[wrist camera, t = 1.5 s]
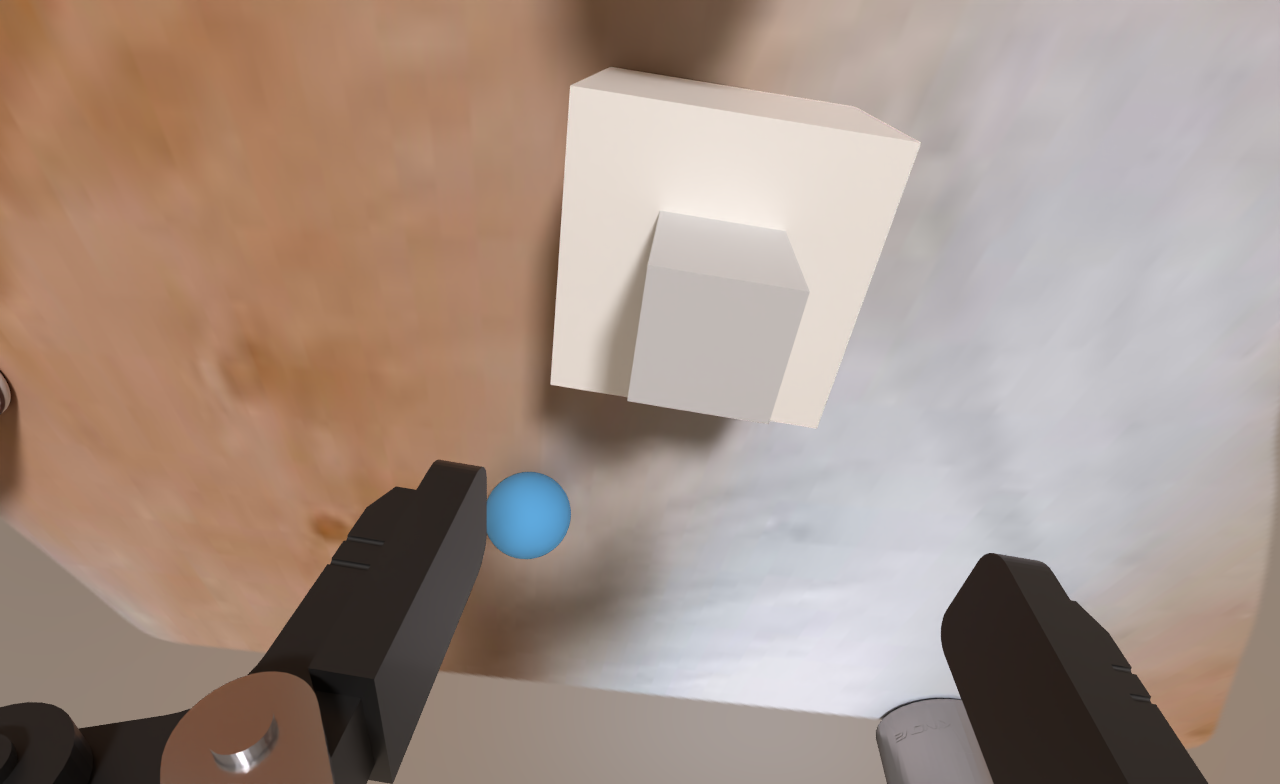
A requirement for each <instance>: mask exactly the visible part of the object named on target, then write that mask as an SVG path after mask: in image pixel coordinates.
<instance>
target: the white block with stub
mask: <svg viewBox="0 0 1280 784" xmlns="http://www.w3.org/2000/svg"><path fill="white" fill-rule="evenodd" d="M920 144H921V142H919V141H917V140H915V139H914V138H912V137H910V136H908V135H906V134H904V133H903V132H901V131H899V130H897V129H895V128H893V127H892V126H890V125H888V124H886V123H884V122H882V121H881V120H879V119H877V118H875V117H873V116H871V115H870V114H868V113H866V112H864V111H862V110H860V109H859V108H857V107H855V106H849V105H843V104H837V103H831V102H825V101H818V100H812V99H806V98H800V97H794V96H788V95H782V94H775V93H769V92H763V91H757V90H751V89H745V88H739V87H732V86H726V85H720V84H714V83H708V82H702V81H696V80H689V79H683V78H677V77H671V76H665V75H659V74H653V73H646V72H640V71H634V70H628V69H622V68H616V67H609V68H607V69H604V70H602V71H600V72H598V73H596V74H594V75H592V76H589V77H587V78H585V79H583V80H581V81H579V82H577V83H575V84H572V85H570V97H569V112H568V127H567V142H566V157H565V173H564V188H563V203H562V218H561V233H560V248H559V263H558V278H557V293H556V308H555V323H554V338H553V353H552V368H551V384H550V385H556V386H562V387H568V388H574V389H580V390H586V391H592V392H598V393H604V394H610V395H616V396H622V397H628V400H627V401H630V402H636V403H642V404H648V405H654V406H660V407H666V408H672V409H678V410H684V411H690V412H697V413H703V414H709V415H715V416H721V417H727V418H733V419H739V420H745V421H751V422H757V423H763V424H769V422H770V421H774V422H780V423H786V424H792V425H798V426H804V427H810V428H817V426H818V424H819V421H820V418H821V416H822V413H823V410H824V407H825V405H826V402H827V399H828V396H829V394H830V391H831V388H832V385H833V383H834V380H835V377H836V374H837V372H838V369H839V366H840V364H841V361H842V358H843V355H844V353H845V350H846V347H847V344H848V342H849V339H850V336H851V333H852V331H853V328H854V325H855V322H856V320H857V317H858V314H859V311H860V309H861V306H862V303H863V301H864V298H865V295H866V292H867V290H868V287H869V284H870V281H871V279H872V276H873V273H874V270H875V268H876V265H877V262H878V259H879V257H880V254H881V251H882V249H883V246H884V243H885V240H886V238H887V235H888V232H889V229H890V227H891V224H892V221H893V218H894V216H895V213H896V210H897V207H898V205H899V202H900V199H901V197H902V194H903V191H904V188H905V186H906V183H907V180H908V177H909V175H910V172H911V169H912V166H913V164H914V161H915V158H916V155H917V153H918V150H919V147H920Z"/></svg>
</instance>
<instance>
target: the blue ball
mask: <svg viewBox="0 0 1280 784" xmlns="http://www.w3.org/2000/svg"><path fill="white" fill-rule="evenodd" d="M570 519H571V509H570V504H569V500H568V497H567V495H566V493H565V492H564V490H563V489H562V487H561V486H560V485H559V484H558V483H557V482H556V481H555V480H553V479H552V478H550V477H548V476H546V475H544V474H540V473H536V472H522V473H517V474H514V475H512V476H510V477H508V478H506V479H504V480H503V481H501V482H500V483H499V484H498V485H497V486H496V487H495V488H494V490H493V491H492V492H491V494H490V496H489V498H488V500H487V534H488V536H489V538H490V540H491V541H492V543H493V544H494V545H495V546H496V547H497V548H498V549H499V550H500V551H502V552H503V553H505V554H507V555H509V556H511V557H514V558H519V559H533V558H537V557H541V556H543V555H545V554H547V553H549V552H550V551H552V550H553V549H554V548H555V547H557V546H558V545H559V543H560V542H561V541H562V540H563V538H564V536H565V535H566V533H567V530H568V528H569V524H570Z"/></svg>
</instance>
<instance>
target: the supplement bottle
mask: <svg viewBox="0 0 1280 784" xmlns="http://www.w3.org/2000/svg"><path fill="white" fill-rule="evenodd" d="M10 400H11V394H10V389H9V386H8V384H7V382H6V380H5V378H4V377H3V375H2V374H1V373H0V414H1V413H3V412H4V411H5V410H6V409H7V407H8V406H9V403H10Z"/></svg>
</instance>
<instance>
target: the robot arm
mask: <svg viewBox="0 0 1280 784" xmlns="http://www.w3.org/2000/svg"><path fill="white" fill-rule="evenodd" d="M486 536H487V477H486V470H485V468H484V467H480V466H474V465H468V464H462V463H456V462H450V461H444V460H436V461H435V462H434V463H433V464H432V465H431V467H430V468H429V470H428V472H427V473H426V475H425V477H424V478H423V480H422V482H421V483H420V485H419V487H418V488H417V490H414V489H408V488H401V487H395V488H393V489H392V490H390V491H389V492H388V493H386V494H385V495H383V496H382V497H381V498H379V499H378V500H377V501H375V502H374V503H372V504H371V505H370V506H368V507H367V508H366V509H365V511H364V512H363V514H362V515H361V516H360V518H359V519H358V521H357V522H356V524H355V525H354V527H353V528H352V530H351V531H350V532H349V534H348V538H347V540H346V541H343V543H342V544H341V545H340V547H339V548H338V550H337V551H336V553H335V554H334V556H333V557H332V561H331V563H330V565H329V564H327V566H326V567H325V569H324V570H323V572H322V573H321V574H320V576H319V577H318V579H317V580H316V582H315V583H314V585H313V586H312V588H311V589H310V590H309V592H308V593H307V595H306V596H305V598H304V599H303V601H302V602H301V604H300V605H299V606H298V608H297V609H296V611H295V612H294V614H293V615H292V617H291V618H290V619H289V621H288V622H287V624H286V625H285V627H284V628H283V630H282V631H281V633H280V634H279V635H278V637H277V638H276V640H275V641H274V643H273V644H272V646H271V647H270V648H269V650H268V651H267V653H266V654H265V656H264V657H263V658H262V660H261V661H260V662H259V663H258V665H257V666H256V667H255V668H254V669H253V670H252V671H251V672H250V673H249V674H248V675H247V676H244V677H240V678H237V679H235V680H233V681H230V682H228V683H226V684H224V685H223V686H221V687H219V688H217V689H215V690H214V691H212V692H211V693H209V694H208V695H207V696H205V697H204V698H202V699H201V700H200V701H199V702H198V703H197V704H196V705H194V706H193V707H192V708H191V709H188V710H185V711H182V712H179V713H174V714H169V715H164V716H158V717H151V718H145V719H139V720H132V721H125V722H119V723H112V724H106V725H99V726H93V727H86V728H80V729H78V728H77V726H76V725H75V723H74V722H73V721H72V719H71V718H70V717H69V715H68V714H67V713H66V712H65V711H63V710H62V709H61V708H58V707H56V706H54V705H51V704H45V703H29V702H28V703H20V704H13V705H9V706H4V707H0V784H366V783H367V781H368V780H374V781H379V782H385V783H391V784H393V782H394V780H395V777H396V775H397V772H398V770H399V767H400V765H401V762H402V760H403V757H404V755H405V752H406V750H407V747H408V745H409V742H410V740H411V738H412V735H413V732H414V730H415V727H416V725H417V723H418V720H419V718H420V715H421V713H422V711H423V708H424V705H425V703H426V701H427V698H428V696H429V693H430V690H431V688H432V686H433V683H434V681H435V678H436V676H437V674H438V671H439V669H440V666H441V664H442V661H443V659H444V656H445V654H446V651H447V649H448V647H449V644H450V642H451V639H452V637H453V634H454V632H455V629H456V627H457V624H458V622H459V619H460V617H461V615H462V612H463V610H464V607H465V605H466V602H467V600H468V597H469V595H470V592H471V590H472V587H473V585H474V583H475V580H476V578H477V575H478V572H479V570H480V567H481V563H482V559H483V555H484V551H485V545H486ZM941 642H942V648H943V651H944V655H945V657H946V660H947V662H948V665H949V668H950V670H951V673H952V676H953V678H954V681H955V683H956V686H957V689H958V691H959V694H960V697H961V699H962V700H956V699H933V700H924V701H920V702H915V703H911V704H908V705H906V706H903V707H900V708H898V709H896V710H895V711H893V712H891V713H890V714H888V715H887V716H886V717H885V718H883V719H882V721H881V722H880V724H879V725H878V727H877V730H876V740H877V744H878V748H879V752H880V756H881V760H882V764H883V768H884V773H885V777H886V781H887V784H1208V782H1207V781H1206V779H1205V778H1204V776H1203V775H1202V773H1201V772H1200V770H1199V769H1198V767H1197V766H1196V764H1195V763H1194V761H1193V760H1192V758H1191V757H1190V755H1189V754H1188V752H1187V751H1186V749H1185V748H1184V746H1183V745H1182V743H1181V742H1180V740H1179V739H1178V737H1177V736H1176V734H1175V733H1174V731H1173V730H1172V728H1171V726H1170V725H1169V723H1168V722H1167V720H1166V719H1165V717H1164V716H1163V714H1162V713H1161V711H1160V710H1159V708H1158V707H1157V705H1155V704H1152V703H1151V702H1150V698H1151V696H1150V695H1149V693H1148V692H1147V690H1146V689H1145V687H1144V686H1143V684H1142V683H1141V681H1140V680H1139V678H1138V677H1137V675H1135V674H1132V673H1131V666H1130V664H1129V663H1128V661H1127V660H1126V658H1125V657H1124V655H1123V654H1122V652H1121V651H1120V649H1119V648H1118V646H1117V645H1116V643H1115V642H1114V640H1113V639H1112V637H1111V636H1110V634H1109V633H1108V632H1107V631H1106V630H1105V629H1104V628H1103V627H1102V626H1101V625H1100V624H1099V623H1098V622H1097V621H1096V620H1095V619H1094V618H1093V617H1092V616H1091V615H1089V614H1088V613H1087V612H1086V611H1085V610H1084V609H1083V608H1082V607H1081V606H1080V605H1079V604H1078V603H1077V602H1076V601H1071V600H1070V599H1069V597H1068V596H1067V594H1066V592H1065V591H1064V589H1063V588H1062V586H1061V585H1060V583H1059V581H1058V580H1057V578H1056V577H1055V575H1054V573H1053V572H1052V571H1051V569H1050V568H1049V567H1048V566H1047V565H1046V564H1044V563H1043V562H1040V561H1036V560H1030V559H1024V558H1018V557H1012V556H1006V555H1000V554H994V553H989V554H986V555H984V556H983V557H982V558H980V560H979V561H978V563H977V564H976V566H975V567H974V569H973V570H972V572H971V573H970V575H969V576H968V578H967V580H966V581H965V583H964V584H963V586H962V587H961V589H960V590H959V592H958V593H957V595H956V597H955V598H954V600H953V601H952V603H951V604H950V606H949V607H948V609H947V611H946V612H945V614H944V617H943V621H942V626H941Z"/></svg>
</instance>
